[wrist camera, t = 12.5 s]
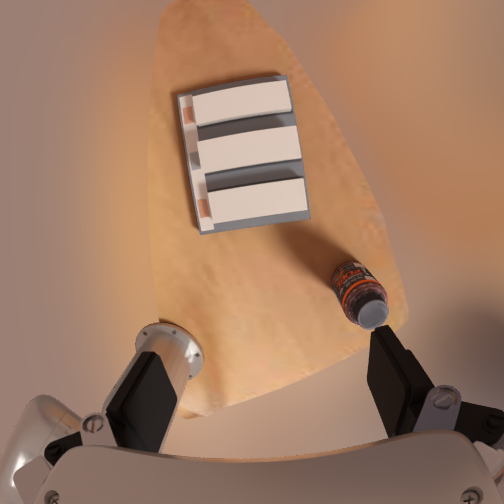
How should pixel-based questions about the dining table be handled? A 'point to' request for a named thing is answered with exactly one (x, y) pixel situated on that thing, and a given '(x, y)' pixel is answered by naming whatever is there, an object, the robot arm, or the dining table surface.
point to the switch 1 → (241, 102)
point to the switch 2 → (258, 200)
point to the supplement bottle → (360, 295)
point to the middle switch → (249, 149)
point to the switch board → (240, 175)
